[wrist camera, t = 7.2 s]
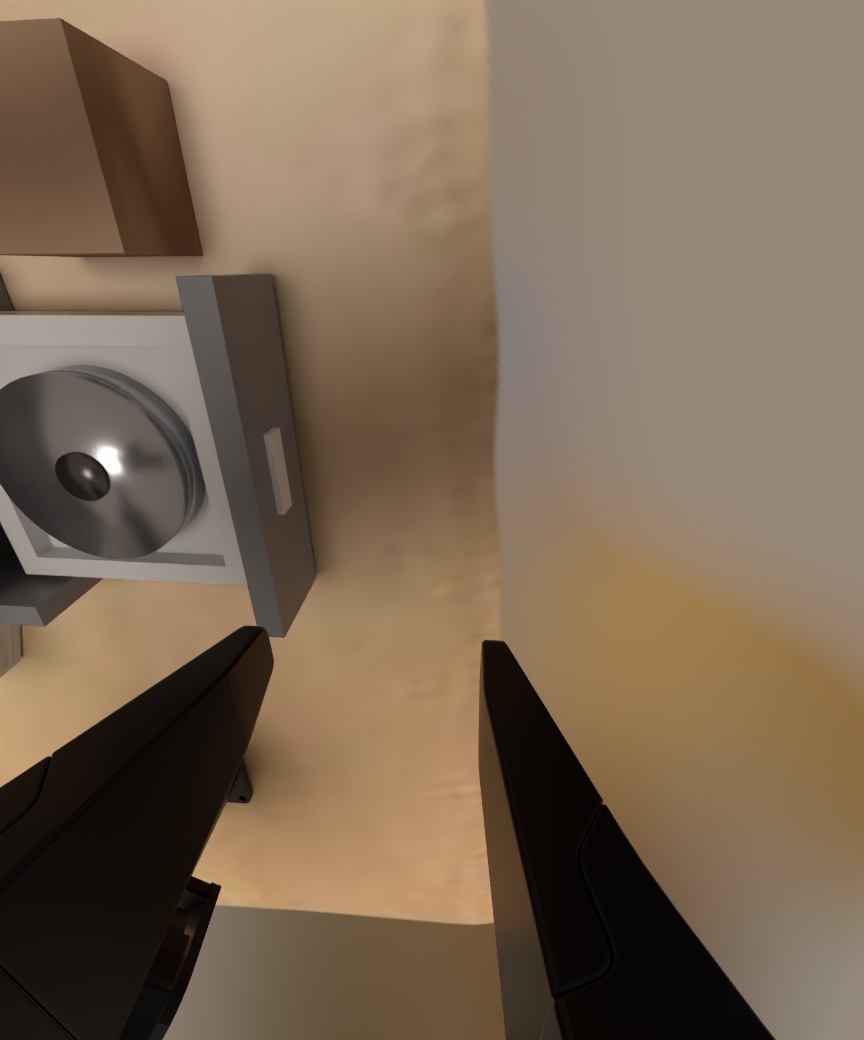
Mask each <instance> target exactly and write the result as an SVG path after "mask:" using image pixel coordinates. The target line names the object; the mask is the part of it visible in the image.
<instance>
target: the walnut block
mask: <svg viewBox="0 0 864 1040" xmlns="http://www.w3.org/2000/svg"><path fill="white" fill-rule="evenodd" d="M0 255H19V256H62V257H135V256H202V251H201V246H200V241H199V236H198V231H197V227H196V222H195V217H194V212H193V207H192V202H191V197H190V192H189V188H188V183H187V178H186V173H185V168H184V163H183V158H182V154H181V149H180V144H179V139H178V134H177V129H176V124H175V120H174V115H173V110H172V105H171V100H170V95H169V90H168V86H167V81H166V80H164V79H162V78H161V77H159V76H157V75H156V74H154V73H152V72H150V71H149V70H147V69H145V68H144V67H142V66H140V65H139V64H137V63H135V62H134V61H132V60H130V59H128V58H127V57H125V56H123V55H122V54H120V53H118V52H117V51H115V50H113V49H111V48H110V47H108V46H106V45H105V44H103V43H101V42H100V41H98V40H96V39H95V38H93V37H91V36H89V35H88V34H86V33H84V32H83V31H81V30H79V29H78V28H76V27H74V26H72V25H71V24H69V23H67V22H66V21H64V20H62V19H61V18H56V19H36V20H17V21H0Z"/></svg>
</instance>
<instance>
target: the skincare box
mask: <svg viewBox="0 0 864 1040" xmlns="http://www.w3.org/2000/svg"><path fill="white" fill-rule="evenodd" d="M20 657H21V625H11V624H0V677H2V676H3V675H4V674H5V673H6V672H7V671H9V670H10V669H11V668H12V667H13V666H15V665H16V664H17V663H18V662H19V661H20Z"/></svg>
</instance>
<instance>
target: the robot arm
mask: <svg viewBox="0 0 864 1040" xmlns="http://www.w3.org/2000/svg"><path fill="white" fill-rule="evenodd" d="M273 665H274V658H273V653H272V649H271V644H270V640H269V635H268V632H267V630H266V628H264V627H262V626H243V627H241V628H239V629H238V630H236V631H235V632H233V633H232V634H230V635H229V636H227V637H226V638H224V639H223V640H221V641H220V642H218V643H217V644H215V645H214V646H212V647H211V648H209V649H208V650H206V651H205V652H203V653H202V654H200V655H199V656H197V657H196V658H194V659H193V660H191V661H190V662H188V663H187V664H185V665H184V666H182V667H181V668H179V669H178V670H176V671H175V672H173V673H172V674H170V675H169V676H167V677H166V678H164V679H163V680H161V681H160V682H158V683H157V684H155V685H154V686H152V687H151V688H149V689H148V690H146V691H145V692H143V693H142V694H140V695H139V696H137V697H136V698H134V699H133V700H131V701H130V702H128V703H127V704H125V705H124V706H122V707H121V708H119V709H118V710H117V711H115V712H114V713H112V714H111V715H109V716H108V717H106V718H105V719H103V720H102V721H100V722H99V723H97V724H96V725H94V726H93V727H91V728H90V729H88V730H87V731H85V732H84V733H82V734H81V735H79V736H78V737H76V738H75V739H73V740H72V741H70V742H69V743H67V744H66V745H64V746H63V747H61V748H60V749H58V750H57V751H55V752H54V753H53V754H52V757H49V756H48V757H46V758H44V759H43V760H41V761H40V762H38V763H37V764H35V765H34V766H32V767H31V768H29V769H28V770H26V771H25V772H23V773H22V774H20V775H19V776H17V777H16V778H14V779H13V780H11V781H10V782H8V783H6V784H5V785H3V786H2V787H0V1040H162V1039H163V1037H164V1035H165V1034H166V1032H167V1030H168V1028H169V1026H170V1024H171V1022H172V1020H173V1018H174V1016H175V1014H176V1012H177V1010H178V1008H179V1005H180V1003H181V1001H182V999H183V996H184V994H185V991H186V989H187V986H188V984H189V981H190V978H191V976H192V973H193V969H194V967H195V964H196V961H197V958H198V955H199V952H200V949H201V946H202V943H203V940H204V937H205V934H206V931H207V928H208V925H209V922H210V919H211V916H212V913H213V910H214V907H215V904H216V901H217V898H218V895H219V892H220V889H221V886H220V885H217V884H215V883H213V882H212V883H211V884H209V883H207V882H205V881H202V880H200V879H197V878H195V877H193V876H192V874H193V872H194V869H195V867H196V865H197V863H198V861H199V859H200V857H201V855H202V853H203V851H204V848H205V846H206V844H207V842H208V840H209V838H210V836H211V834H212V832H213V829H214V827H215V825H216V823H217V821H218V819H219V817H220V815H221V813H222V810H223V808H224V806H225V804H226V802H235V803H249V802H250V800H251V798H252V796H253V792H252V789H251V786H250V783H249V779H248V776H247V773H246V770H245V766H244V763H243V760H242V759H243V757H244V754H245V752H246V749H247V747H248V744H249V741H250V738H251V736H252V733H253V730H254V726H255V723H256V720H257V717H258V714H259V711H260V708H261V705H262V702H263V699H264V695H265V692H266V689H267V686H268V683H269V680H270V677H271V674H272V670H273ZM479 776H480V787H481V796H482V806H483V816H484V826H485V836H486V846H487V856H488V866H489V876H490V886H491V896H492V906H493V916H494V926H495V935H496V945H497V955H498V965H499V975H500V985H501V995H502V1005H503V1015H504V1024H505V1035H506V1040H775V1038H774V1037H773V1036H772V1035H771V1033H770V1032H769V1031H768V1029H767V1028H766V1027H765V1025H764V1024H763V1023H762V1022H761V1021H760V1019H759V1018H758V1016H757V1015H756V1014H755V1012H754V1011H753V1010H752V1008H751V1007H750V1006H749V1004H748V1003H747V1002H746V1000H745V999H744V998H743V997H742V995H741V994H740V992H739V991H738V990H737V988H736V987H735V986H734V985H733V983H732V982H731V981H730V979H729V978H728V977H727V976H726V974H725V973H724V971H723V970H722V969H721V967H720V966H719V965H718V963H717V962H716V961H715V959H714V958H713V957H712V956H711V954H710V953H709V951H708V950H707V949H706V948H705V946H704V945H703V943H702V942H701V941H700V940H699V938H698V937H697V936H696V934H695V933H694V932H693V930H692V929H691V928H690V926H689V925H688V924H687V922H686V921H685V920H684V918H683V917H682V916H681V915H680V913H679V912H678V910H677V909H676V908H675V906H674V905H673V904H672V902H671V901H670V899H669V898H668V897H667V895H666V894H665V893H664V891H663V890H662V888H661V887H660V886H659V884H658V883H657V881H656V880H655V879H654V877H653V876H652V875H651V873H650V872H649V870H648V869H647V868H646V866H645V865H644V863H643V862H642V860H641V859H640V857H639V856H638V854H637V853H636V851H635V849H634V848H633V846H632V845H631V844H630V842H629V840H628V839H627V837H626V836H625V834H624V833H623V831H622V830H621V828H620V826H619V825H618V823H617V822H616V820H615V818H614V817H613V815H612V813H611V812H610V810H609V809H608V807H607V806H606V805H602V804H603V799H602V798H601V796H600V794H599V793H598V791H597V790H596V788H595V786H594V785H593V783H592V782H591V780H590V778H589V777H588V775H587V773H586V772H585V770H584V769H583V767H582V765H581V764H580V763H579V760H578V759H577V757H576V756H575V754H574V752H573V751H572V749H571V748H570V746H569V744H568V743H567V741H566V740H565V738H564V736H563V735H562V733H561V731H560V730H559V728H558V727H557V725H556V723H555V722H554V720H553V719H552V717H551V715H550V714H549V712H548V711H547V709H546V707H545V706H544V704H543V702H542V701H541V699H540V698H539V696H538V694H537V693H536V691H535V690H534V688H533V686H532V685H531V683H530V681H529V680H528V678H527V677H526V675H525V673H524V672H523V670H522V668H521V667H520V665H519V664H518V662H517V660H516V659H515V657H514V655H513V654H512V652H511V651H510V649H509V647H508V646H507V644H506V643H505V642H503V641H497V640H484V641H483V642H482V649H481V665H480V692H479Z"/></svg>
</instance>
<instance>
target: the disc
mask: <svg viewBox="0 0 864 1040" xmlns="http://www.w3.org/2000/svg"><path fill="white" fill-rule="evenodd" d="M0 485H1V486H2V488H3V489H4V491H5V492H6V493H7V495H8V496H9V498H10V499H11V500H12V501H13V502H14V504H15V505H16V506H17V507H18V508H19V509H20V510H21V511H22V512H23V513H24V514H25V516H26V517H28V518H29V519H30V520H31V521H32V522H33V523H34V524H36V525H37V526H38V527H39V528H41V529H42V530H43V531H45V532H46V533H47V534H49V535H50V536H52V537H54V538H55V539H57V540H58V541H60V542H62V543H64V544H66V545H68V546H70V547H72V548H74V549H77V550H79V551H82V552H85V553H88V554H91V555H94V556H99V557H103V558H111V559H132V558H139V557H142V556H146V555H149V554H151V553H153V552H155V551H157V550H158V549H160V548H161V547H163V546H164V545H165V544H166V543H168V542H169V541H170V540H171V539H172V538H173V537H174V536H175V535H177V534H178V533H179V532H180V531H181V530H182V529H183V528H185V527H186V526H187V525H188V524H189V523H190V522H191V521H192V520H193V519H194V517H195V516H196V514H197V513H198V511H199V509H200V507H201V505H202V502H203V498H204V494H205V482H204V478H203V474H202V470H201V466H200V462H199V458H198V454H197V451H196V447H195V443H194V439H193V437H192V435H191V433H190V431H189V430H188V428H187V427H186V425H185V424H184V423H183V421H182V420H181V418H180V417H179V416H178V415H177V414H176V412H175V411H174V410H173V409H172V408H171V407H170V406H169V405H168V404H167V403H166V402H165V401H164V400H163V399H162V398H160V397H159V396H158V395H157V394H156V393H154V392H153V391H152V390H150V389H149V388H148V387H146V386H144V385H143V384H141V383H140V382H138V381H136V380H135V379H132V378H130V377H128V376H126V375H124V374H122V373H119V372H116V371H113V370H110V369H107V368H102V367H98V366H90V365H74V366H67V367H63V368H58V369H54V370H50V371H46V372H42V373H38V374H34V375H29V376H25V377H21V378H19V379H17V380H14V381H12V382H10V383H9V384H7V385H6V386H4V387H3V388H2V389H1V390H0Z"/></svg>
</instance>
